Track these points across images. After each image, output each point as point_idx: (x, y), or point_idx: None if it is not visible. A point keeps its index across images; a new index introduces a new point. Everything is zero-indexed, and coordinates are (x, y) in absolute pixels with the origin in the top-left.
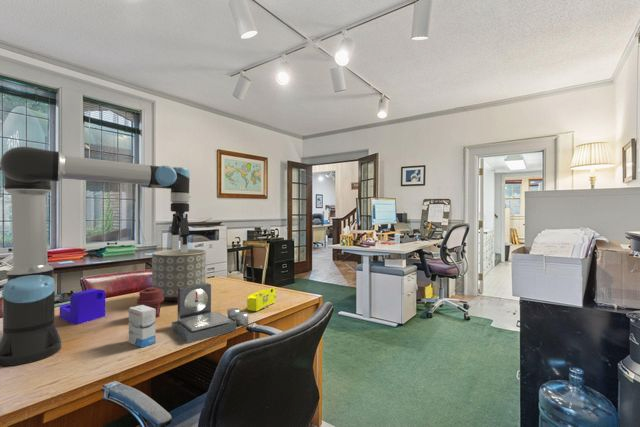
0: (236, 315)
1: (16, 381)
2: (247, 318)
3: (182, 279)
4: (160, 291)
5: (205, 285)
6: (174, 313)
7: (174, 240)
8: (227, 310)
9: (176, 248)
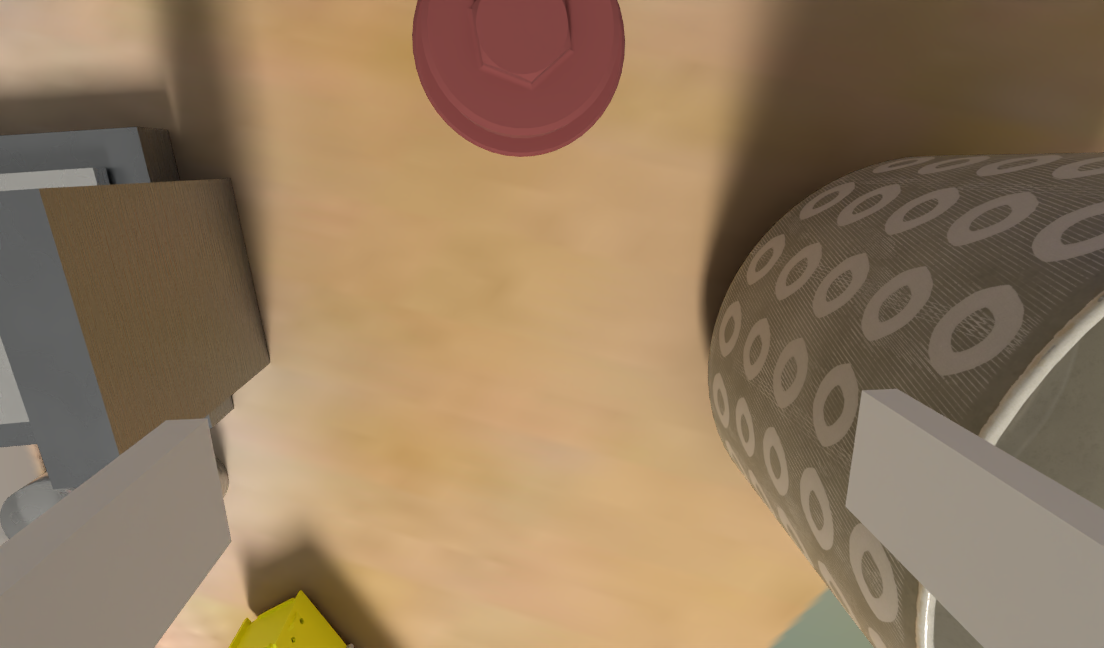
0: (27, 488)
1: None
2: None
3: (767, 379)
4: (459, 110)
5: (39, 438)
6: (513, 225)
7: (1030, 559)
8: None
9: (861, 475)
